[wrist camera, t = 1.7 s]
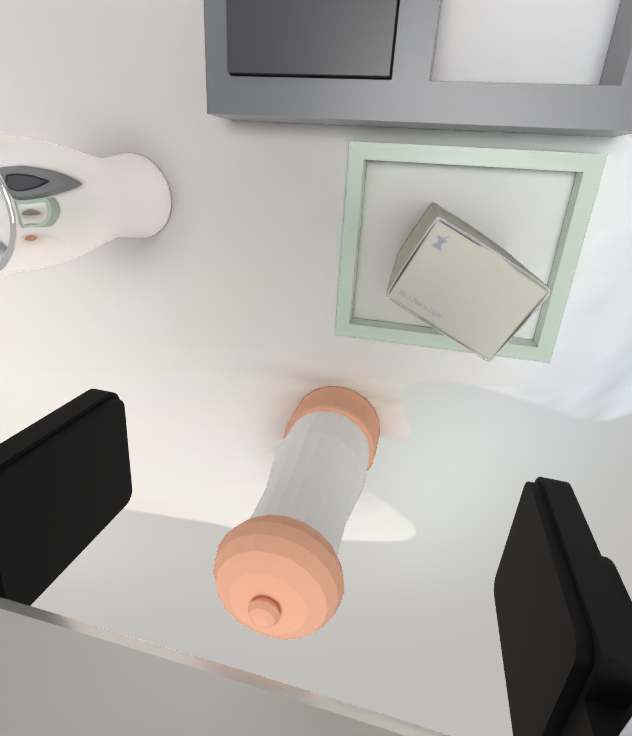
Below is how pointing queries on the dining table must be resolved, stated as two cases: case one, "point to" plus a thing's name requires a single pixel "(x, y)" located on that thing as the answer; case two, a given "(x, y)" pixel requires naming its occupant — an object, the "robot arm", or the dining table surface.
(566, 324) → the dining table surface
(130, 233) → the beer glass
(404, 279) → the skincare box
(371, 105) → the socket strip
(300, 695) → the robot arm
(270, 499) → the salt shaker
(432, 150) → the tray
